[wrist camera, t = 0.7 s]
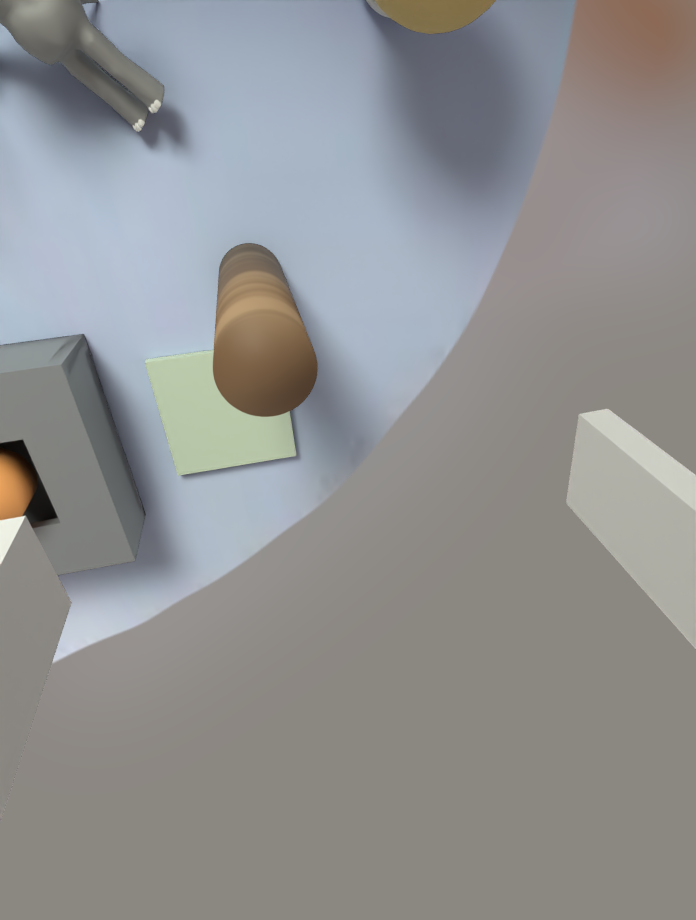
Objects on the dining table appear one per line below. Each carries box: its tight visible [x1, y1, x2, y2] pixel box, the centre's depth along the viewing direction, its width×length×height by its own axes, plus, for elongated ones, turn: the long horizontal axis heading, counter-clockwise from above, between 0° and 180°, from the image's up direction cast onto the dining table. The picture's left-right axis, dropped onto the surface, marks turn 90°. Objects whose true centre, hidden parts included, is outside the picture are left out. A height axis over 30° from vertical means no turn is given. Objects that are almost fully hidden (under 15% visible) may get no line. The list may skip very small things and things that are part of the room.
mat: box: [145, 350, 296, 476], centre depth 35 cm, size 8×8×1 cm
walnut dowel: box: [213, 243, 317, 417], centre depth 25 cm, size 4×4×15 cm
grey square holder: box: [0, 334, 145, 575], centre depth 32 cm, size 13×12×5 cm
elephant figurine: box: [0, 0, 164, 132], centre depth 23 cm, size 10×6×9 cm
